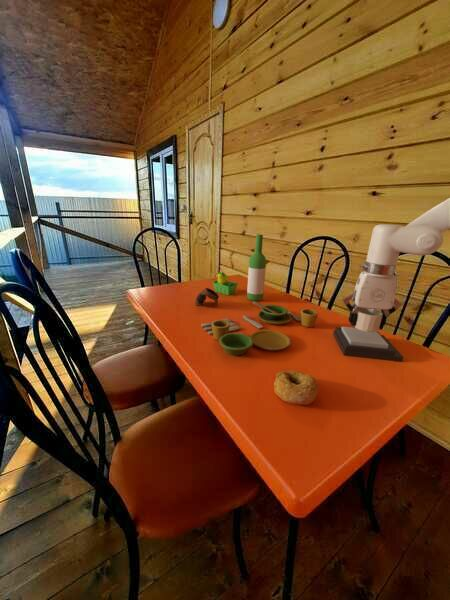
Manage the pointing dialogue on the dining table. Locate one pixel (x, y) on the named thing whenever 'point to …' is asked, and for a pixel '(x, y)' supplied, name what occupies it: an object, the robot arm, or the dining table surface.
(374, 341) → the weigh platform
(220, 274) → the fruit basket
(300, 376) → the bagel
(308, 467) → the dining table surface
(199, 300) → the dark brown arch
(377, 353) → the scale
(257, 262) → the wine bottle
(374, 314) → the bowl
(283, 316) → the tableware set
